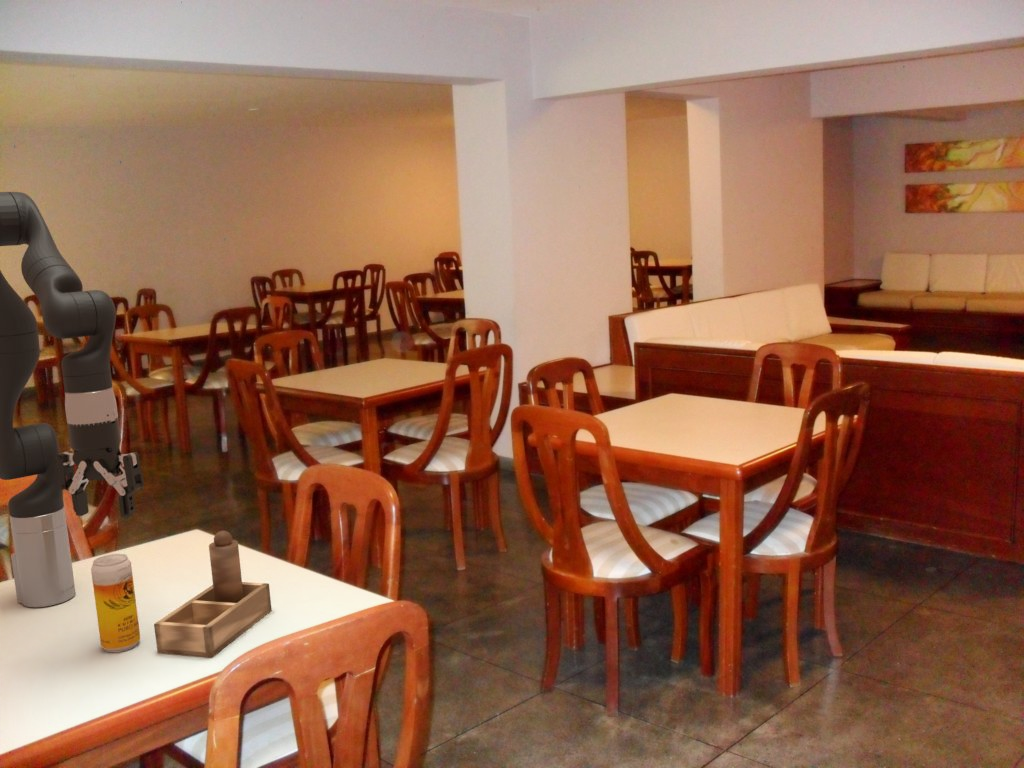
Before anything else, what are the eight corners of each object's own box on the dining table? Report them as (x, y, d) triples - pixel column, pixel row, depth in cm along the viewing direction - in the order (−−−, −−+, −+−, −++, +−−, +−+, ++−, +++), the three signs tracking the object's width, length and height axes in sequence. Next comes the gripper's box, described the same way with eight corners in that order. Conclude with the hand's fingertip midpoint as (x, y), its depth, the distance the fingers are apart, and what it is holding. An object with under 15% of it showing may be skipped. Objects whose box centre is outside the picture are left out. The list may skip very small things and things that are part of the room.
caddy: (157, 653, 161) (146, 558, 158) (221, 607, 179) (212, 521, 176) (211, 657, 158) (201, 561, 155) (271, 610, 176) (263, 523, 173)
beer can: (127, 654, 161) (116, 566, 158) (93, 653, 162) (82, 565, 159) (148, 638, 167) (137, 553, 164) (115, 637, 168) (104, 552, 165)
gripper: (38, 422, 156) (51, 521, 159) (115, 422, 152) (127, 524, 155) (71, 412, 163) (83, 507, 166) (145, 412, 159) (157, 510, 162)
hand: (105, 515), depth 160 cm, fingers open, 8 cm apart
